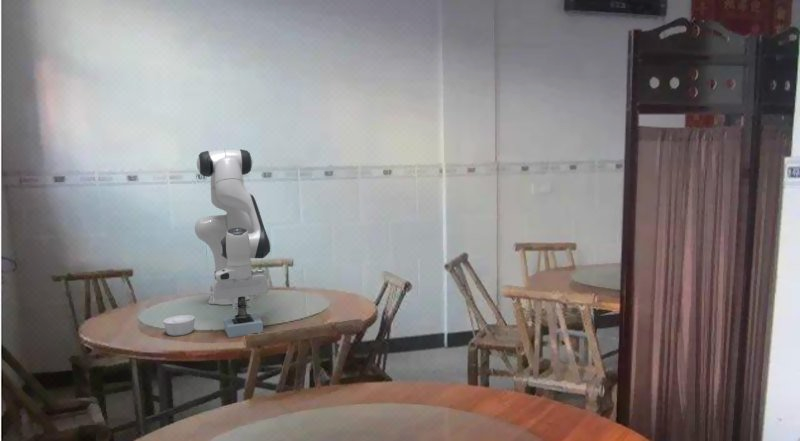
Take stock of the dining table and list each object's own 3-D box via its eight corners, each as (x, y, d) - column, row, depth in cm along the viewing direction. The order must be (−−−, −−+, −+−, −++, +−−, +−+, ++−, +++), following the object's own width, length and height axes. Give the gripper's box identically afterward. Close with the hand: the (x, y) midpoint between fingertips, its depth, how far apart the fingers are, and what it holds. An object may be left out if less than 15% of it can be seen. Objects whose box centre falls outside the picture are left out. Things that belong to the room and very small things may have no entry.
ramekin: (157, 335, 233) (156, 321, 232) (178, 326, 243) (177, 313, 242) (181, 338, 229) (180, 324, 228) (201, 329, 239) (200, 315, 238)
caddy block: (224, 328, 239) (223, 318, 238) (257, 323, 243) (256, 314, 243) (228, 337, 227) (228, 327, 227) (263, 332, 232) (262, 322, 231)
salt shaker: (254, 323, 237) (252, 292, 235) (246, 327, 231) (244, 296, 230) (240, 322, 238) (238, 291, 237) (232, 326, 233) (230, 295, 231)
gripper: (266, 267, 239) (268, 302, 241) (210, 273, 231) (213, 309, 233) (269, 270, 233) (271, 306, 235) (212, 276, 226) (215, 313, 227)
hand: (242, 307), depth 234 cm, fingers closed on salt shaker, 4 cm apart
